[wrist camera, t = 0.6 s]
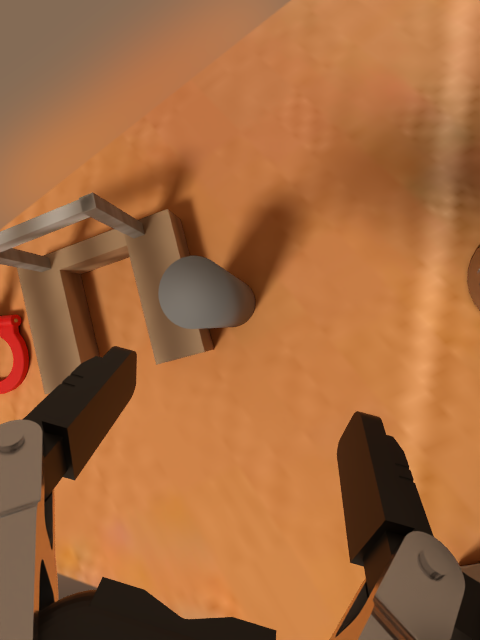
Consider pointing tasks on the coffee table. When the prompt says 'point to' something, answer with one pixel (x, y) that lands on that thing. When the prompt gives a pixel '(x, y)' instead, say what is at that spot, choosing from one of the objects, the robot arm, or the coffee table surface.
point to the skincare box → (472, 571)
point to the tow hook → (14, 352)
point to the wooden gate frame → (67, 288)
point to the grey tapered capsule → (204, 295)
